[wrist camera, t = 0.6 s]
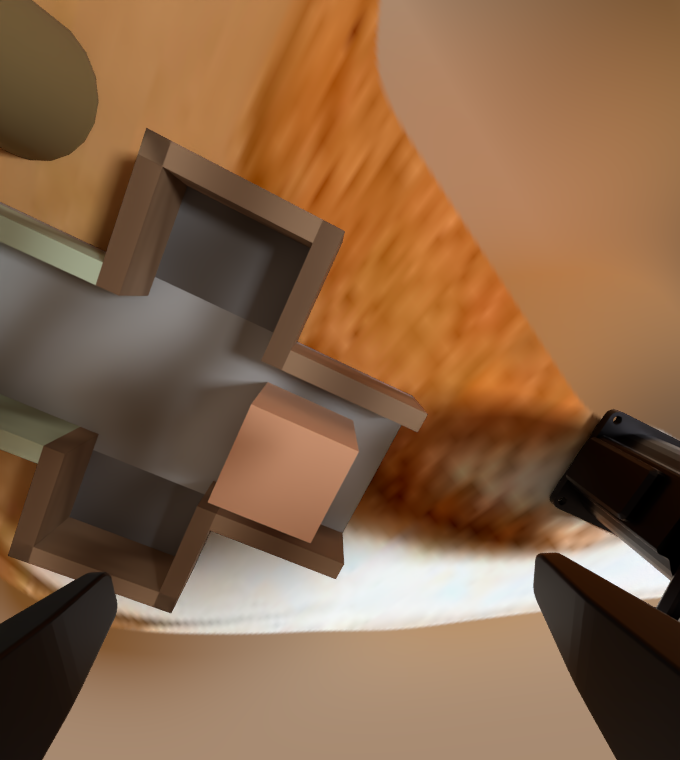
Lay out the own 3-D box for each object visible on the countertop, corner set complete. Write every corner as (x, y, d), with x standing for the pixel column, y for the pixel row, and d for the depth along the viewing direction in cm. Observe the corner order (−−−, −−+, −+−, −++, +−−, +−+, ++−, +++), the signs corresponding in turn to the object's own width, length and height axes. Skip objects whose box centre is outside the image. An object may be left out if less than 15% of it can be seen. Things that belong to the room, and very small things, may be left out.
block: (353, 420, 19) (358, 451, 15) (314, 495, 20) (310, 543, 16) (267, 382, 19) (251, 404, 15) (231, 461, 20) (207, 502, 16)
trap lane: (462, 304, 19) (488, 306, 16) (297, 608, 23) (292, 656, 20) (18, 75, 16) (-56, 22, 13) (-80, 468, 20) (-153, 499, 17)
